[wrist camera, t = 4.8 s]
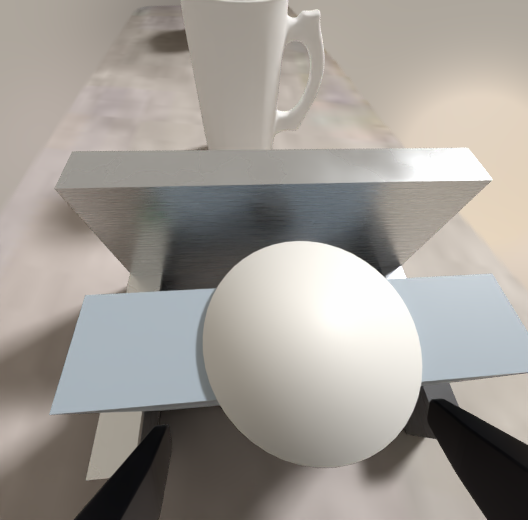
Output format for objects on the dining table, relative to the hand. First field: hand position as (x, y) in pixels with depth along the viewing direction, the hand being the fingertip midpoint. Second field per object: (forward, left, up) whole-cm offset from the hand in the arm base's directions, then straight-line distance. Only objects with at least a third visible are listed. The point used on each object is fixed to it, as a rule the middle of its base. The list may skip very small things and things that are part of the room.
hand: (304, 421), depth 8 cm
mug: (+23, 0, -7) cm, 24 cm away
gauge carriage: (+2, +1, -6) cm, 7 cm away
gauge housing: (+5, 0, -7) cm, 8 cm away
